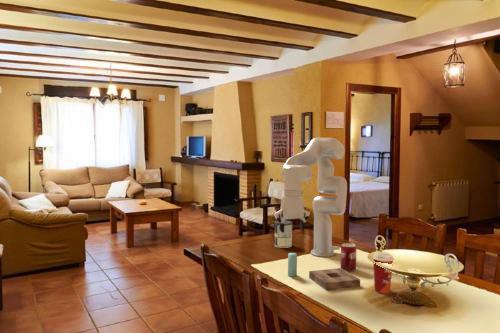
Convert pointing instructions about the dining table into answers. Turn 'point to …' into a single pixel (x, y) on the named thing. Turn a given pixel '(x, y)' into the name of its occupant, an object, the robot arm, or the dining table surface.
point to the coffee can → (283, 235)
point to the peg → (292, 264)
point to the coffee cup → (382, 273)
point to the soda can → (348, 257)
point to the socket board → (334, 279)
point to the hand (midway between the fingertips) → (292, 231)
